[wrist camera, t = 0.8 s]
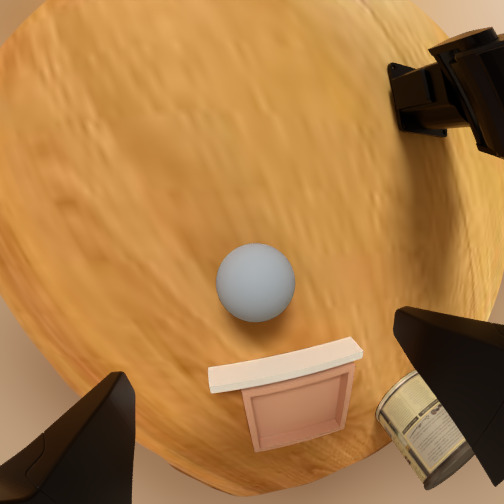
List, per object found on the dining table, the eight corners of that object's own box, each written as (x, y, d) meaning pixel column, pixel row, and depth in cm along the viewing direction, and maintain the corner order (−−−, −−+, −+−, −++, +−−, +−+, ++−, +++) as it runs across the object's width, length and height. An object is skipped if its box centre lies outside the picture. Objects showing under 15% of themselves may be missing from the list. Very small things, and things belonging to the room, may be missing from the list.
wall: (350, 336, 23) (363, 350, 21) (349, 343, 23) (362, 357, 21) (207, 367, 21) (209, 386, 19) (209, 374, 22) (211, 393, 19)
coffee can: (443, 372, 29) (500, 426, 16) (399, 423, 31) (444, 483, 17) (414, 358, 26) (486, 428, 13) (360, 419, 28) (411, 497, 14)
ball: (280, 231, 19) (304, 249, 15) (285, 295, 21) (307, 327, 16) (209, 241, 19) (211, 263, 14) (220, 306, 20) (225, 343, 15)
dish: (345, 352, 24) (355, 365, 22) (337, 416, 26) (343, 428, 24) (238, 377, 22) (242, 393, 20) (251, 438, 25) (254, 452, 23)
